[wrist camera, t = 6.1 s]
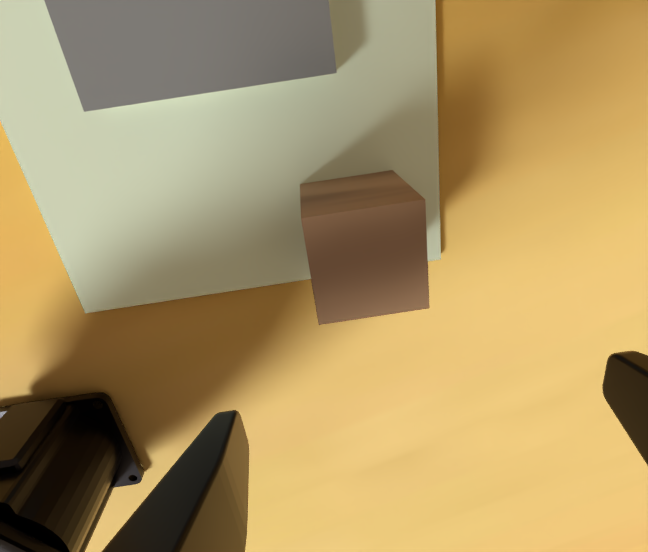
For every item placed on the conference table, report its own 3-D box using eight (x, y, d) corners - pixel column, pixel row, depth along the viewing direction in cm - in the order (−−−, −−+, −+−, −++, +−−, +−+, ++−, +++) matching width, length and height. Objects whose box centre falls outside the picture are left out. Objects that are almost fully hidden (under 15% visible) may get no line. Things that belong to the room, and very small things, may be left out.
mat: (438, 256, 20) (441, 259, 20) (89, 309, 20) (85, 313, 20) (419, -525, 11) (424, -546, 10) (-229, -423, 11) (-247, -441, 10)
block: (398, 255, 19) (429, 308, 15) (313, 268, 19) (318, 324, 15) (392, 169, 18) (425, 199, 13) (299, 184, 18) (301, 218, 13)
